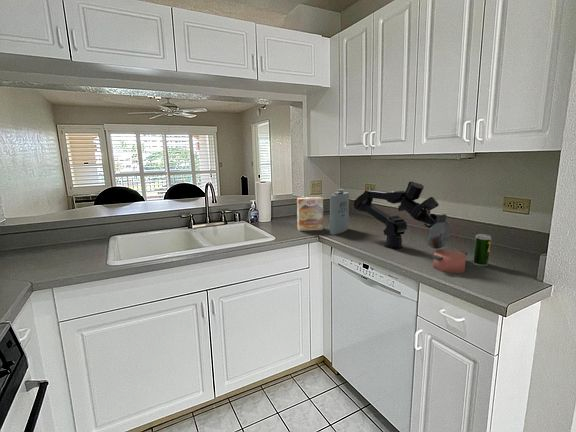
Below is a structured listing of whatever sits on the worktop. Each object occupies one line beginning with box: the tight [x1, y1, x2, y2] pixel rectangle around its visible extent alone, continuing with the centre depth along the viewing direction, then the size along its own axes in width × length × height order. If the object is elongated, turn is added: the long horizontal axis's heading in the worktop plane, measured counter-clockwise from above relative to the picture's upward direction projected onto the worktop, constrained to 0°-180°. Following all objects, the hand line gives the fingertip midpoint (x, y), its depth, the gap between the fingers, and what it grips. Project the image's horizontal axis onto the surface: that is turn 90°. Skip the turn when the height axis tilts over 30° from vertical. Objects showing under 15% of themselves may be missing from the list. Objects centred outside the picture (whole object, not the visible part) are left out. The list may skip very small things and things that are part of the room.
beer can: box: [472, 233, 492, 267], centre depth 124 cm, size 5×5×12 cm
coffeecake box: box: [296, 196, 324, 232], centre depth 189 cm, size 15×7×20 cm, turn 97°
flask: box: [329, 188, 350, 235], centre depth 181 cm, size 17×5×25 cm, turn 141°
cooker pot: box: [431, 248, 468, 274], centre depth 122 cm, size 12×15×6 cm
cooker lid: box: [426, 213, 451, 250], centre depth 125 cm, size 14×11×1 cm
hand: (440, 228), depth 128 cm, fingers open, 9 cm apart
